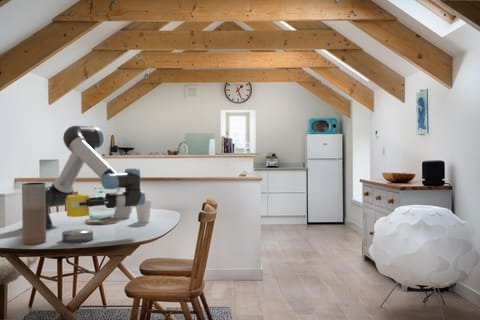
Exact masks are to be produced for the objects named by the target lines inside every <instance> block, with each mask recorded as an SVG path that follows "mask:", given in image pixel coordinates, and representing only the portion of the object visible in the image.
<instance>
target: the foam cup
mask: <svg viewBox="0 0 480 320" xmlns="http://www.w3.org/2000/svg"><path fill="white" fill-rule="evenodd" d="M151 207H152V199H149V198H148V199H147V198H145V203H144V204H143V205H139V206H135V209H136V217H137V223H140V224H144V223H143V222H146V223H150V217H151V216H150V215H151Z"/></svg>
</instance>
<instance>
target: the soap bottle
mask: <svg viewBox="0 0 480 320" xmlns="http://www.w3.org/2000/svg"><path fill="white" fill-rule="evenodd" d="M115 192H123V191H122V190H121V188H118V189H116V191H115ZM132 211H133V206H129V207H121V208H119V207H116V210H115V213H114V215H113V217H118V218H117V219H127V218H129V217H130V216H131V214H132V213H133V212H132Z"/></svg>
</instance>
